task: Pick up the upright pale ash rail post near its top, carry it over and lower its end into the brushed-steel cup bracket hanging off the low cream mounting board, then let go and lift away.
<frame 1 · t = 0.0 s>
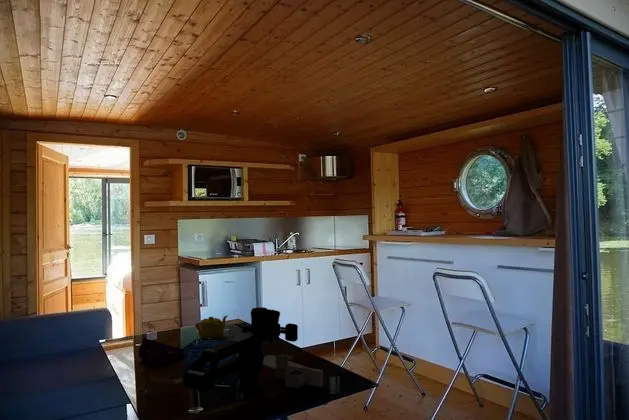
hand: (287, 325, 181), 17 cm above the table, tool horizontal, fingers open, 9 cm apart
teapot: (212, 337, 228), on the table
rail post: (282, 376, 170), on the table
mounting board: (305, 383, 163), on the table
baseboard molding: (288, 369, 181), on the table
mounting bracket: (164, 359, 195), on the table
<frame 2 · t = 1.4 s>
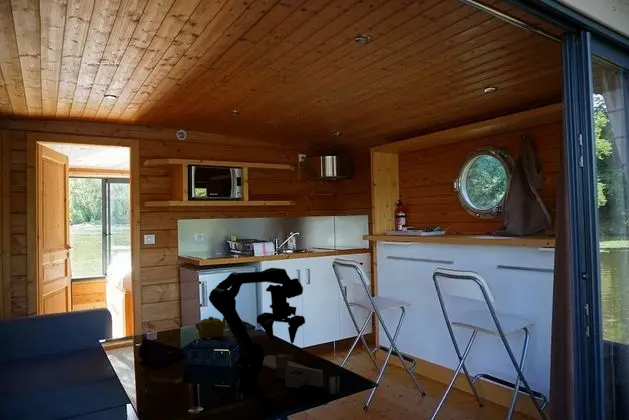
hand: (282, 341, 171), 13 cm above the table, tool pointing down, fingers open, 9 cm apart
nothing on the table moved.
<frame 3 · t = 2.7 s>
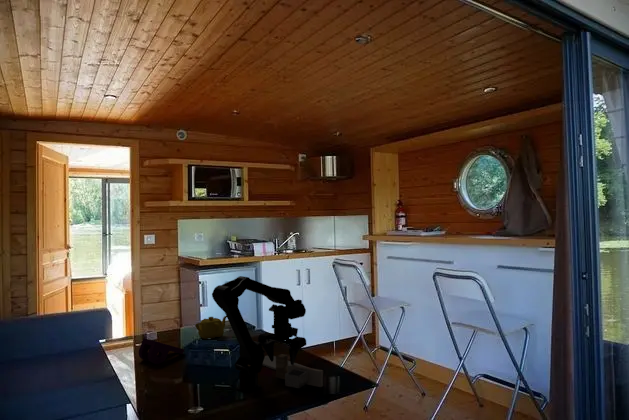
hand: (282, 363, 170), 5 cm above the table, tool pointing down, fingers open, 9 cm apart
nothing on the table moved.
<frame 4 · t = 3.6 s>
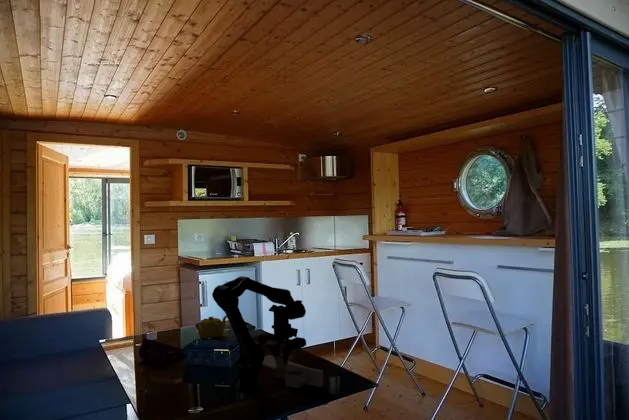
hand: (281, 363, 170), 5 cm above the table, tool pointing down, fingers closed on rail post, 3 cm apart
rail post: (281, 376, 170), on the table, touching gripper
everything else where it was.
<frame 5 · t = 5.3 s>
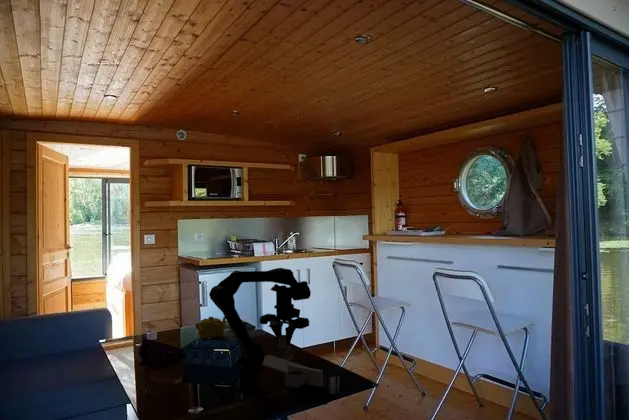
hand: (284, 344, 168), 13 cm above the table, tool pointing down, fingers closed on rail post, 3 cm apart
rail post: (284, 357, 168), point 8 cm above the table, touching gripper
everything else where it was.
when the fingers open (9 cm above the table, at t = 7.3 s): rail post stays where it is, resting on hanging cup.
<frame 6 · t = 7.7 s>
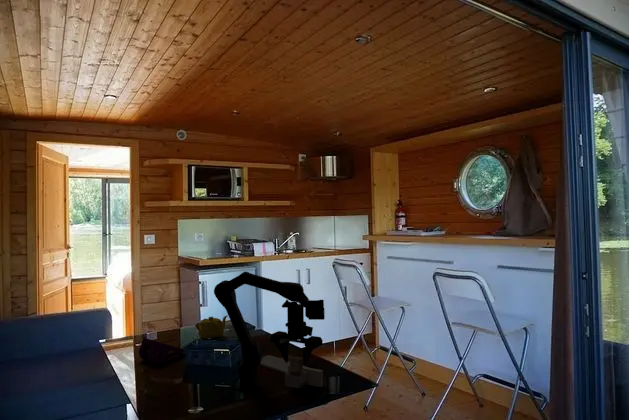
hand: (296, 364, 158), 8 cm above the table, tool pointing down, fingers open, 8 cm apart
rail post: (296, 381, 158), point 3 cm above the table, touching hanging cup
everything else where it was.
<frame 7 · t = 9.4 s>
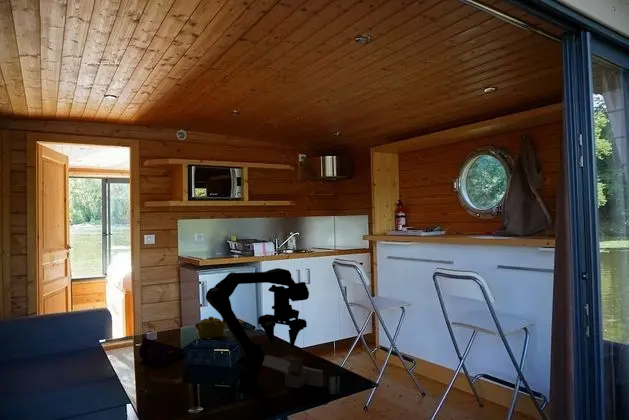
hand: (282, 345, 166), 13 cm above the table, tool pointing down, fingers open, 9 cm apart
nothing on the table moved.
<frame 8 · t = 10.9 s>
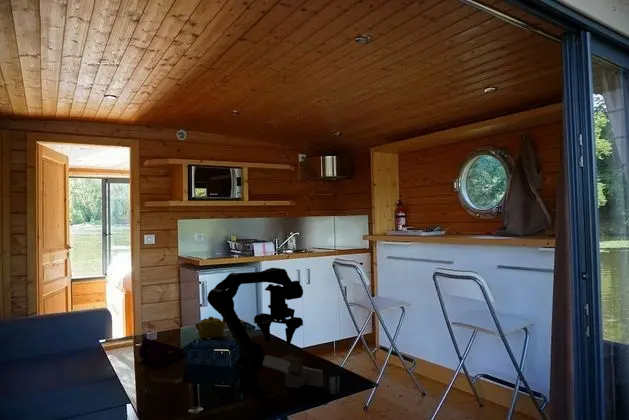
hand: (278, 343, 168), 13 cm above the table, tool pointing down, fingers open, 9 cm apart
nothing on the table moved.
at the end: rail post 0.1 cm off-centre on the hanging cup, point 2.5 cm above the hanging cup's base; rail post tilted 0°; the gripper is holding nothing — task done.
